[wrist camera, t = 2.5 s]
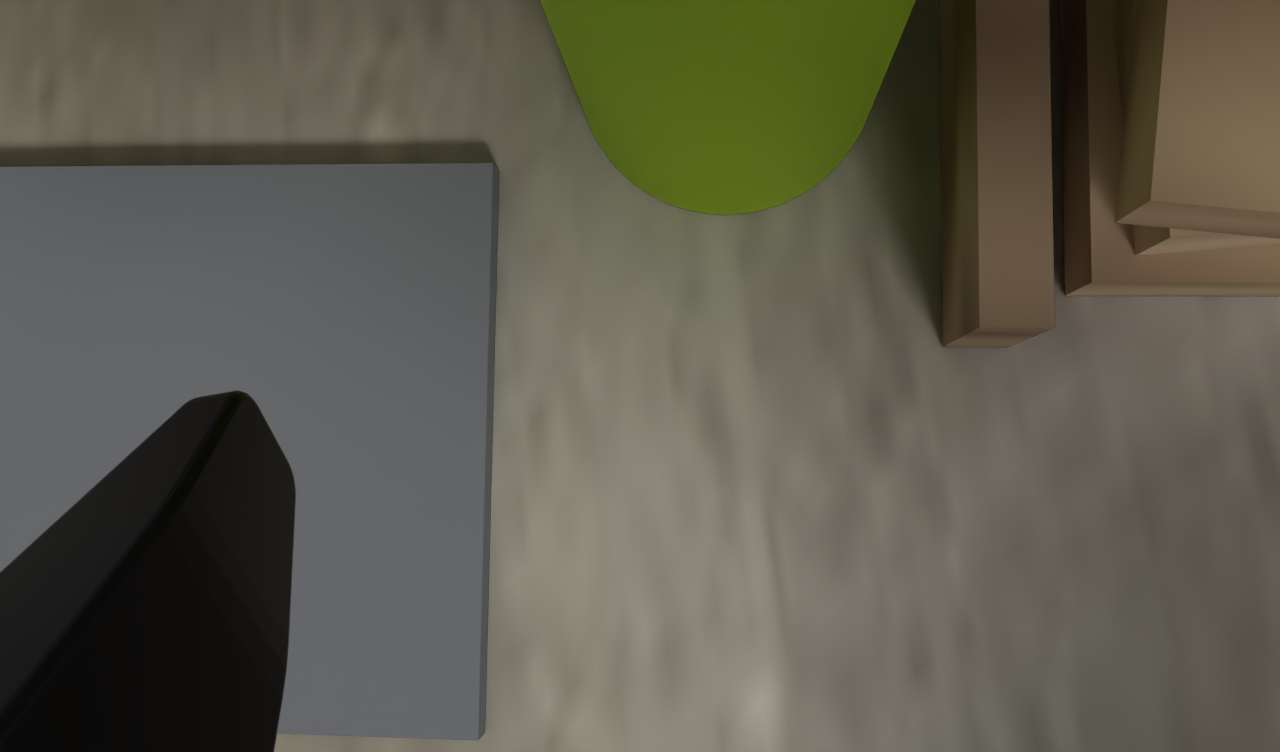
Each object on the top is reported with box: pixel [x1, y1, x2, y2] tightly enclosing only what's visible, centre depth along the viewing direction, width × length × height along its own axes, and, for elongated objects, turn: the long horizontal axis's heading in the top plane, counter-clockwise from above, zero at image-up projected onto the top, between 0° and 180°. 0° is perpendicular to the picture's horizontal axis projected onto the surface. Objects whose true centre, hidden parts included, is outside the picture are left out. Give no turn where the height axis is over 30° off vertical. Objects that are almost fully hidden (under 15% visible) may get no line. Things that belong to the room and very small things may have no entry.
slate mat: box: [0, 163, 499, 740], centre depth 21 cm, size 11×11×1 cm
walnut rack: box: [940, 0, 1055, 348], centre depth 19 cm, size 11×20×3 cm, turn 89°
